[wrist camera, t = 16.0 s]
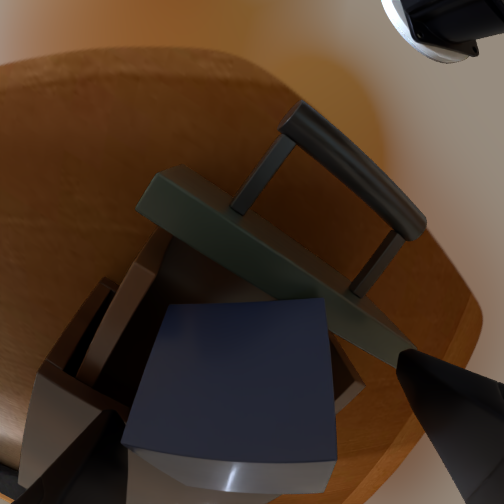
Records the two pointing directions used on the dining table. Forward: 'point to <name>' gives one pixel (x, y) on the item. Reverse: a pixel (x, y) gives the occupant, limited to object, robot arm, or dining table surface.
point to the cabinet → (87, 409)
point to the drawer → (251, 261)
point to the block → (239, 398)
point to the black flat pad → (10, 483)
